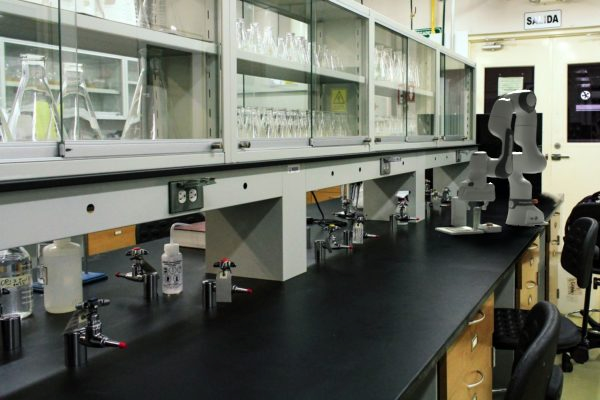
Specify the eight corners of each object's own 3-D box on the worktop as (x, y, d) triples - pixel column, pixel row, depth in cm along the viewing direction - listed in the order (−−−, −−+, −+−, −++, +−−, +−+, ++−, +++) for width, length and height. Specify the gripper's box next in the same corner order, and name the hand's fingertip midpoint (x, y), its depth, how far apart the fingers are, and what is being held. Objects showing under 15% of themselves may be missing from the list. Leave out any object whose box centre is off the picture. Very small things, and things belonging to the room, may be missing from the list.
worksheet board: (465, 228, 321) (466, 226, 321) (483, 233, 306) (484, 230, 306) (435, 229, 316) (435, 227, 316) (452, 234, 301) (452, 232, 301)
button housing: (491, 229, 317) (491, 223, 316) (501, 232, 309) (501, 226, 309) (478, 230, 314) (478, 224, 314) (487, 232, 307) (487, 226, 306)
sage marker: (477, 227, 323) (478, 207, 322) (481, 228, 320) (481, 207, 319) (471, 228, 322) (472, 207, 321) (475, 229, 319) (476, 207, 318)
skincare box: (466, 227, 326) (467, 197, 324) (453, 226, 326) (454, 197, 324) (462, 224, 334) (463, 196, 333) (450, 224, 334) (451, 196, 333)
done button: (490, 227, 314) (490, 222, 313) (494, 228, 311) (494, 223, 310) (485, 228, 313) (485, 223, 312) (488, 228, 310) (489, 224, 309)
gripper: (491, 182, 324) (489, 208, 326) (456, 182, 318) (455, 209, 319) (498, 183, 318) (496, 210, 320) (463, 183, 312) (462, 210, 313)
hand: (476, 209), depth 319 cm, fingers open, 8 cm apart
